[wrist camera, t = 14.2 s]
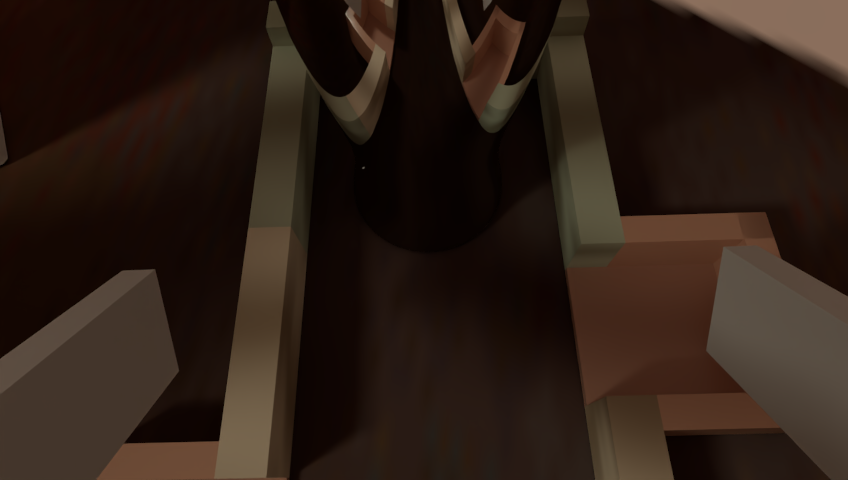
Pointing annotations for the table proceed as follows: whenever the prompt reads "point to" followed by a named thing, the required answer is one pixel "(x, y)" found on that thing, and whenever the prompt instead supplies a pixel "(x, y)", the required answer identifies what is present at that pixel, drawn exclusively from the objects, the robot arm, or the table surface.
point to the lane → (288, 246)
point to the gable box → (2, 145)
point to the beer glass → (422, 102)
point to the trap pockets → (605, 338)
